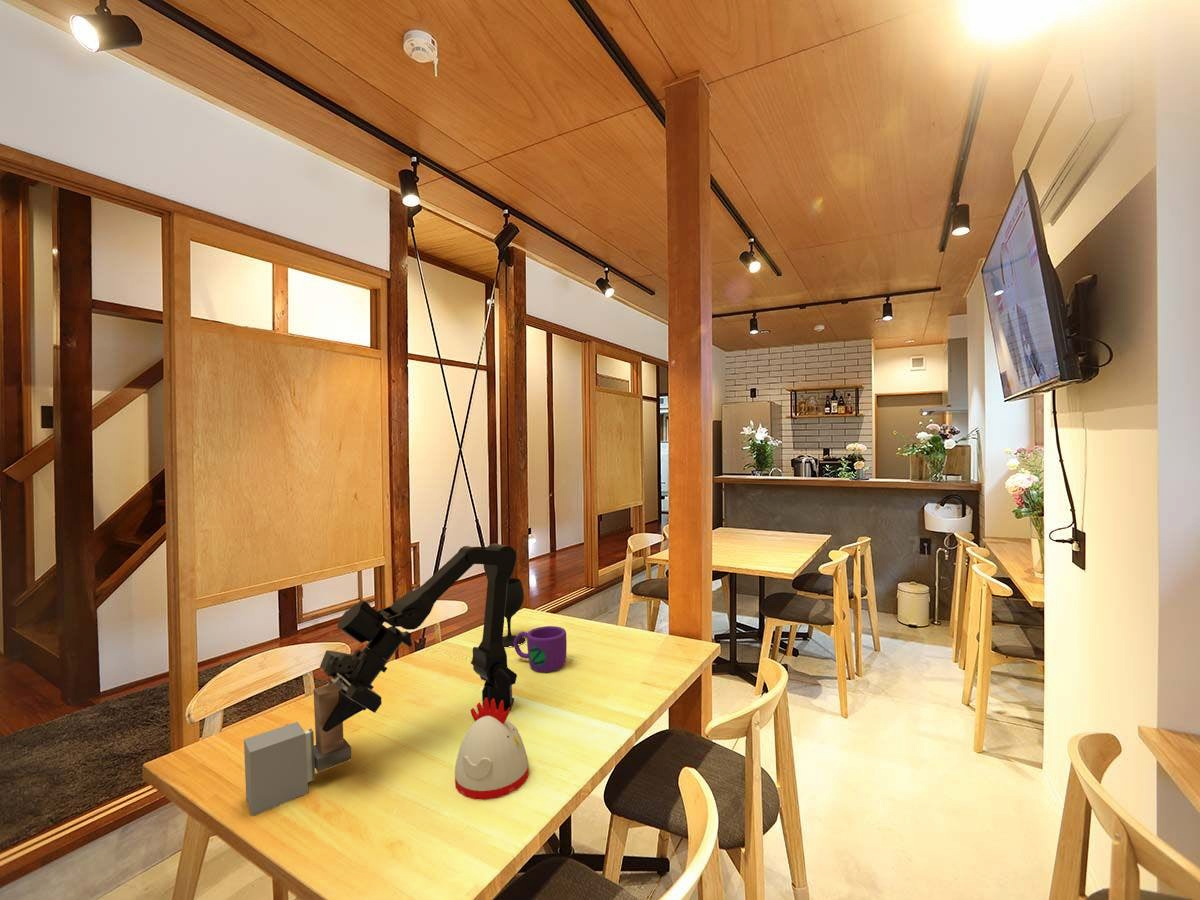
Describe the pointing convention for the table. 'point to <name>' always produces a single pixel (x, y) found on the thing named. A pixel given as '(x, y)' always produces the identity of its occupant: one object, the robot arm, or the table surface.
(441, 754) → the table surface
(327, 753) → the wooden post on base
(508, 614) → the wine glass
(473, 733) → the kitchen timer
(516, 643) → the mug
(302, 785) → the pocket wall
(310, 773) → the pocket door
